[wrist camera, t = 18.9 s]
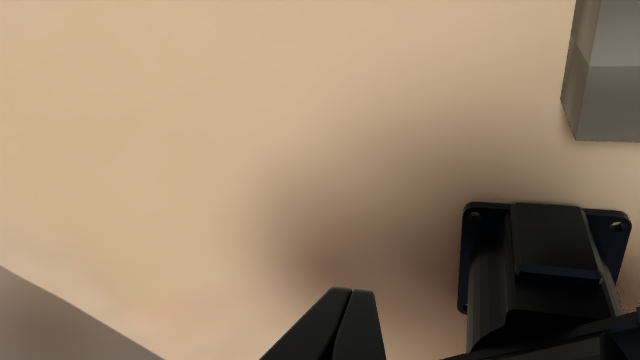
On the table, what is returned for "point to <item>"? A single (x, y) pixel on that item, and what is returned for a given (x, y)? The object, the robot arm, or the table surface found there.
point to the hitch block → (604, 71)
